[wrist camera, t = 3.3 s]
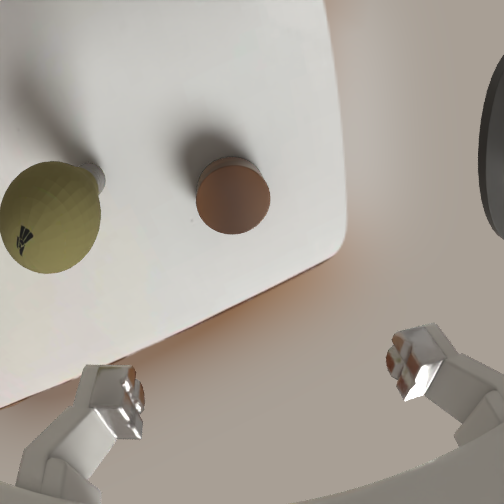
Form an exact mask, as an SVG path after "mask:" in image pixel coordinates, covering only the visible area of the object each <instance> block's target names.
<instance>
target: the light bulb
mask: <svg viewBox="0 0 504 504" xmlns="http://www.w3.org/2000/svg"><path fill="white" fill-rule="evenodd" d="M104 186H105V175H104V173H103V171H102V169H101V168H100V167H99V166H97V165H96V164H93V163H85V164H82V165H80V166H79V167H74V166H72V165H69V164H67V163H63V162H56V161H50V162H42V163H38V164H36V165H33V166H31V167H29V168H28V169H26V170H24V171H23V172H21V173H20V174H19V175H18V176H17V177H16V178H15V179H14V180H13V181H12V182H11V184H10V186H9V187H8V189H7V190H6V192H5V194H4V197H3V200H2V203H1V207H0V233H1V237H2V240H3V242H4V245H5V247H6V249H7V251H8V252H9V254H10V255H11V256H12V257H13V259H14V260H15V261H17V262H18V263H19V264H20V265H22V266H23V267H25V268H27V269H29V270H31V271H34V272H37V273H44V274H49V273H58V272H62V271H64V270H67V269H69V268H71V267H72V266H74V265H76V264H77V263H78V262H80V261H81V260H82V259H83V258H84V257H85V255H86V254H87V253H88V252H89V251H90V249H91V247H92V246H93V244H94V242H95V240H96V237H97V234H98V231H99V226H100V220H101V209H100V202H99V197H98V195H99V194H100V193H101V192H102V190H103V189H104Z"/></svg>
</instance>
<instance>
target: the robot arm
mask: <svg viewBox="0 0 504 504" xmlns="http://www.w3.org/2000/svg"><path fill="white" fill-rule="evenodd" d="M392 342H393V344H394V345H393V346H392V347H391V348H390V349H389V350H388V353H387V356H386V363H387V368H388V371H389V373H390V375H391V376H392V377H393V378H395V379H397V380H398V381H397V385H396V387H397V389H398V390H399V392H400V394H401V396H402V398H403V400H404V401H406V400H409V399H412V398H415V397H419V396H422V395H425V397H427V398H428V399H430V400H431V401H432V402H434V403H435V404H436V405H438V406H439V407H440V408H442V409H443V410H444V411H446V412H447V413H449V414H450V415H451V416H452V417H454V418H455V419H457V420H458V421H459V422H461V423H462V425H461V426H460V428H458V430H457V431H456V432H455V434H454V438H455V440H456V441H457V443H458V446H459V448H457V449H455V450H453V451H451V452H449V453H447V454H445V455H442V456H440V457H438V458H436V459H434V460H432V461H429V462H427V463H425V464H422V465H420V466H418V467H415V468H413V469H410V470H408V471H405V472H403V473H400V474H397V475H394V476H392V477H389V478H386V479H383V480H380V481H377V482H374V483H372V484H368V485H365V486H362V487H358V488H355V489H352V490H348V491H344V492H341V493H337V494H333V495H329V496H324V497H320V498H315V499H311V500H306V501H301V502H296V503H290V504H504V374H502V373H500V372H498V371H496V370H494V369H492V368H490V367H488V366H486V365H484V364H482V363H480V362H478V361H476V360H474V359H473V358H471V357H469V356H466V355H465V354H462V353H461V354H459V353H458V352H457V351H456V349H455V348H454V347H453V345H452V344H451V342H450V341H449V340H448V338H447V337H446V336H445V334H444V333H443V332H442V331H441V329H440V328H439V326H438V325H437V324H435V323H431V324H427V325H422V326H418V327H414V328H410V329H406V330H402V331H398V332H396V333H395V334H394V336H393V338H392ZM135 378H136V371H135V369H134V367H133V366H131V365H86V366H85V367H84V369H83V372H82V375H81V378H80V382H79V386H78V389H77V392H76V396H75V400H74V404H73V407H72V406H69V407H68V408H67V409H65V410H64V412H62V414H60V415H59V416H58V417H57V418H56V419H55V420H54V421H53V422H52V423H51V424H50V425H49V426H48V427H47V428H46V429H45V430H44V431H43V432H42V433H41V434H40V435H39V436H38V437H37V438H36V439H35V440H34V441H33V442H32V443H31V444H30V445H29V446H28V447H26V449H24V451H23V455H22V459H21V463H20V467H19V472H18V476H17V481H16V485H15V486H13V485H11V484H8V483H5V482H2V481H0V504H101V494H102V493H101V491H100V490H99V489H98V488H97V487H95V486H94V485H93V484H92V483H90V482H89V481H88V479H89V477H90V476H91V475H92V473H93V472H94V471H95V469H96V468H97V467H98V465H99V464H100V463H101V461H102V460H103V458H104V457H105V456H106V454H107V453H108V452H109V450H110V449H111V447H112V446H113V445H114V443H115V442H116V439H142V427H143V421H142V419H141V417H140V414H141V413H142V412H143V411H144V406H145V398H144V391H143V387H142V384H141V382H140V381H138V380H137V379H135Z"/></svg>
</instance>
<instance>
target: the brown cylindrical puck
mask: <svg viewBox="0 0 504 504" xmlns="http://www.w3.org/2000/svg"><path fill="white" fill-rule="evenodd" d="M196 206H197V210H198V213H199V215H200V217H201V219H202V220H203V221H204V222H205V223H206V225H208V226H209V227H210V228H212V229H213V230H215V231H218V232H220V233H224V234H240V233H244V232H247V231H249V230H251V229H253V228H254V227H256V226H257V225H258V224H259V223H260V222H261V221H262V220H263V219H264V217H265V216H266V214H267V212H268V209H269V206H270V192H269V188H268V186H267V183H266V182H265V180H264V178H263V176H262V174H261V173H260V171H259V170H258V169H257V167H256V166H255V165H254V164H252V163H251V162H249V161H247V160H245V159H243V158H239V157H225V158H221V159H218V160H216V161H214V162H212V163H211V164H210V165H208V166H207V167H206V168H205V169H204V171H203V172H202V174H201V176H200V178H199V181H198V185H197V194H196Z"/></svg>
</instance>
